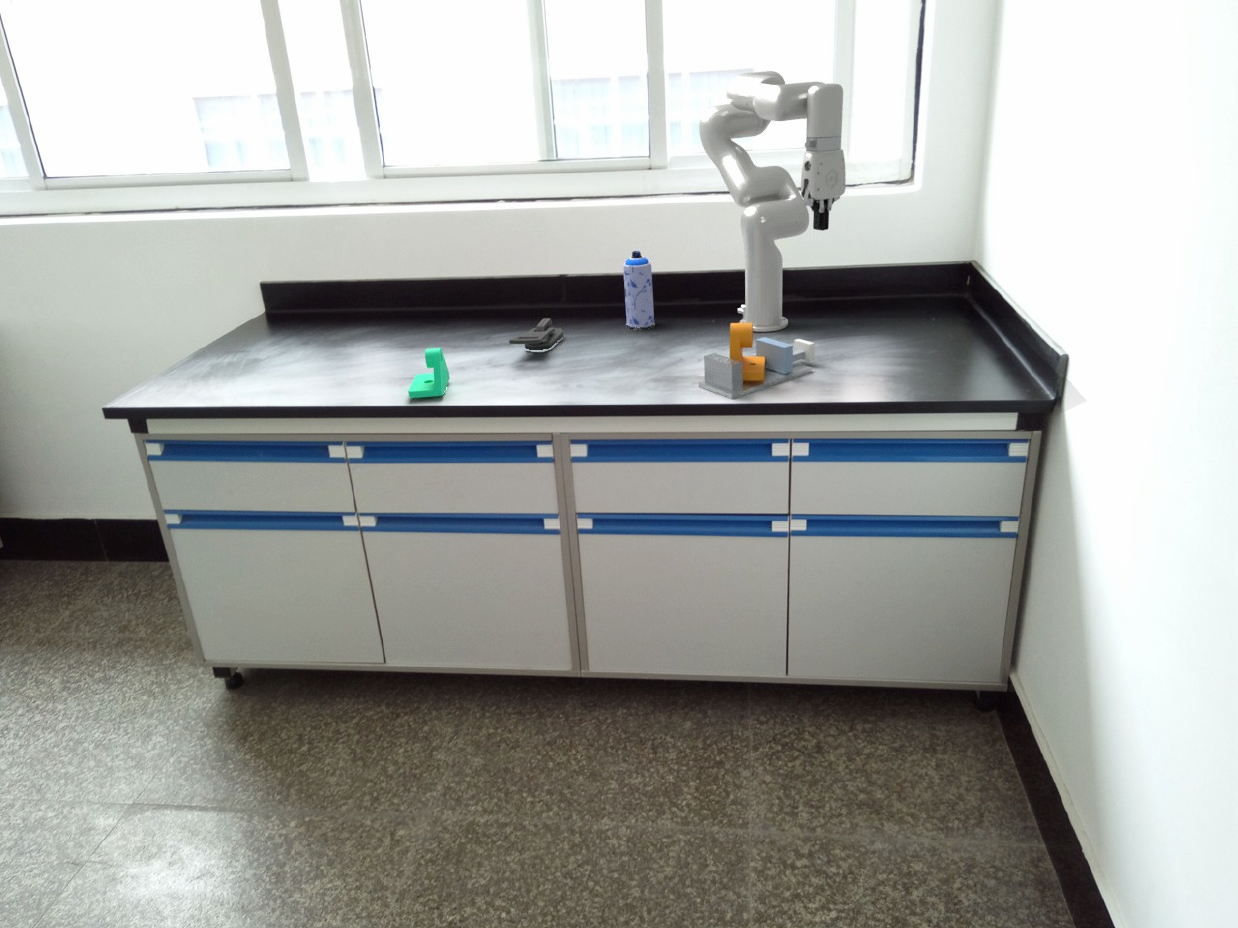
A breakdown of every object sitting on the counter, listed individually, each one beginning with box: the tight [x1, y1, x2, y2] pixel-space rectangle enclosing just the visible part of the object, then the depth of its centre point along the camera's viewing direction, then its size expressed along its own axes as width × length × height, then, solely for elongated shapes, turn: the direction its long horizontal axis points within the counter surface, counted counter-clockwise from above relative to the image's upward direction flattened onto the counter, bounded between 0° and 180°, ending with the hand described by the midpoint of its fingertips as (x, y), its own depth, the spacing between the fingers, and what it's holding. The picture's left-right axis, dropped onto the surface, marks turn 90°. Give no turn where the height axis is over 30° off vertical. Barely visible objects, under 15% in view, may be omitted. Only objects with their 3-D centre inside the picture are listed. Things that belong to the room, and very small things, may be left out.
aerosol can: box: [622, 250, 656, 328], centre depth 243 cm, size 8×8×20 cm
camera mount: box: [407, 347, 450, 399], centre depth 207 cm, size 12×8×10 cm, turn 2°
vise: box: [698, 352, 813, 399], centre depth 201 cm, size 11×24×7 cm, turn 125°
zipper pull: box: [508, 317, 564, 350], centre depth 232 cm, size 9×7×25 cm
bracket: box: [729, 322, 765, 380], centre depth 199 cm, size 11×7×12 cm, turn 169°
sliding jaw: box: [755, 337, 816, 374], centre depth 206 cm, size 9×12×6 cm
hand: (820, 229), depth 207 cm, fingers closed
